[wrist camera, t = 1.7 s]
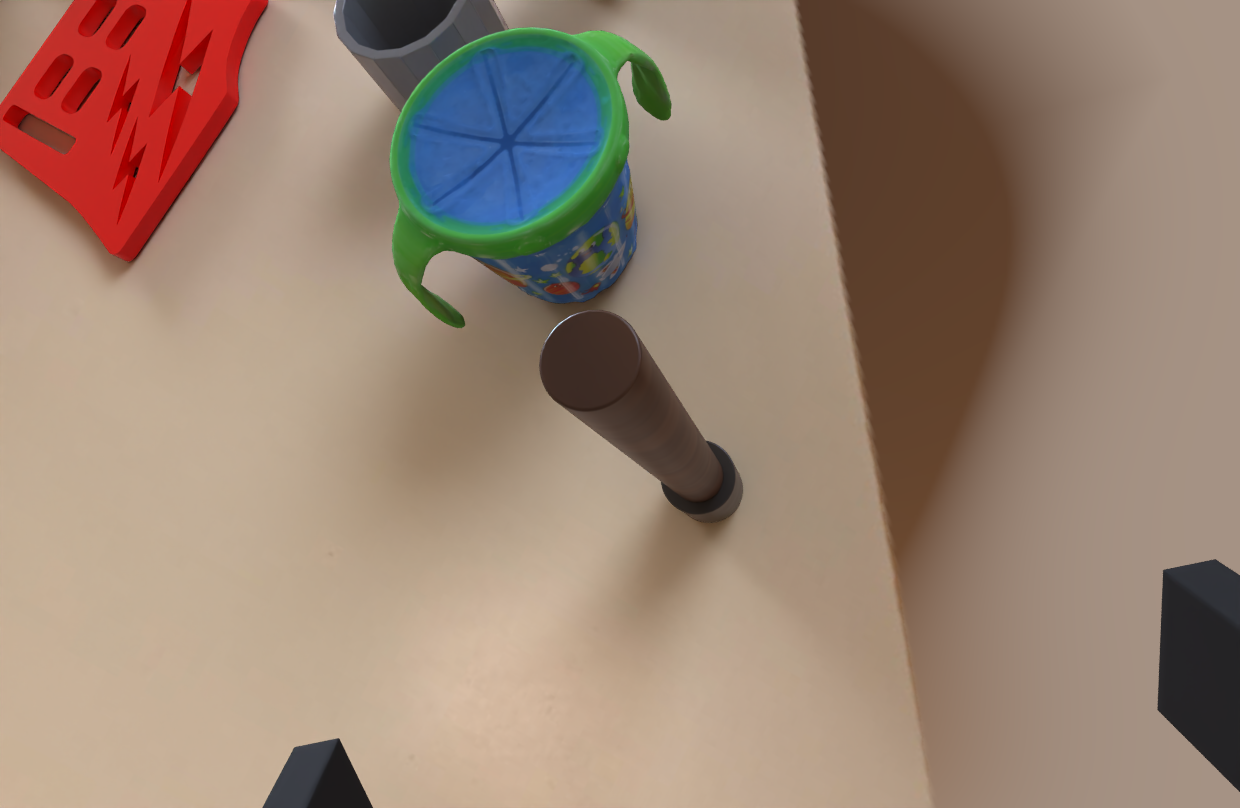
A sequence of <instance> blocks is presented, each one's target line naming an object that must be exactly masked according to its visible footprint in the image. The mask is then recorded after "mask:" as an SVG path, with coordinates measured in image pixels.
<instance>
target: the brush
mask: <svg viewBox="0 0 1240 808" xmlns="http://www.w3.org/2000/svg"><path fill="white" fill-rule="evenodd" d="M539 367H540V376H541V380H542V383H543V385H544V387H545V389H546V391H547V392H548V394H549V395H550V396H551V397H552V398H553V400H555V401H556V402H557V403H558V404H560V405H561V406H562V407H564V408H565V409H566V410H568V411H569V412H570V413H571V414H573V415H574V416H575V417H577V418H578V419H579V420H581V421H582V422H583V423H585V424H586V425H587V426H589V427H590V428H591V429H593V430H594V431H595V432H597V433H598V434H599V435H600V436H602V437H603V438H604V439H606V440H607V441H608V442H610V443H611V444H612V445H614V446H615V447H616V448H618V449H619V450H620V451H622V452H623V453H624V454H625V455H627V456H628V457H629V458H631V459H632V460H633V461H635V462H636V463H637V464H639V465H640V466H641V467H643V468H644V469H645V470H647V471H648V472H649V473H651V474H652V475H653V476H654V477H656V478H657V479H658V480H660V481H661V485H662V489H663V492H664V494H665V496H666V498H667V499H668V500H669V502H670V503H671V504H672V505H673V506H675V507H676V508H677V509H679V510H680V511H682V512H684V513H685V514H687V515H688V516H690V517H691V518H693V519H695V520H697V521H700V522H705V523H713V522H718V521H721V520H724V519H726V518H727V517H729V516H730V515H731V514H732V513H733V512H734V511H735V510H736V509H737V507H738V506H739V504H740V501H741V498H742V494H743V485H742V480H741V477H740V475H739V473H738V471H737V469H736V467H735V465H734V463H733V462H732V460H731V458H730V456H729V455H728V454H727V452H726V451H725V450H724V449H722V448H721V447H720V446H718V445H716V444H715V443H712V442H709V441H705V439H704V438H703V436H702V435H701V433H700V431H699V430H698V428H697V427H696V425H695V424H694V422H693V421H692V419H691V417H690V416H689V414H688V413H687V411H686V410H685V408H684V407H683V405H682V403H681V402H680V400H679V399H678V397H677V396H676V394H675V393H674V391H673V389H672V388H671V386H670V385H669V383H668V382H667V380H666V378H665V377H664V375H663V374H662V372H661V371H660V369H659V368H658V366H657V364H656V363H655V361H654V360H653V358H652V357H651V355H650V354H649V352H648V350H647V349H646V347H645V346H644V344H643V343H642V341H641V339H640V338H639V336H638V335H637V333H636V332H635V330H634V329H633V328H632V326H631V325H630V324H629V323H628V322H627V321H626V320H624V319H623V318H622V317H620V316H618V315H616V314H614V313H611V312H608V311H603V310H588V311H582V312H579V313H576V314H574V315H572V316H570V317H568V318H566V319H564V320H563V321H562V322H561V323H559V324H558V325H557V326H556V327H555V328H554V329H553V330H552V332H551V333H550V334H549V336H548V337H547V339H546V341H545V343H544V345H543V348H542V351H541V355H540V364H539Z"/></svg>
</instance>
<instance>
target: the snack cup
mask: <svg viewBox="0 0 1240 808" xmlns="http://www.w3.org/2000/svg"><path fill="white" fill-rule="evenodd" d="M626 61H630V62H631V69H632V86H633V92H634V95H635V97H636V99H637V102H638V103H639V104H640V105H641V106H642V107H643V108H644V109H645V110H646V111H647V112H649V113H650V114H651V115H652V116H654V117H656V118H657V119H660V120H668V119H669V118H670V116H671V101H670V95H669V93H668V90H667V86H666V84H665V82H664V79H663V77H662V74H661V72H660V71H659V69H658V67H657V66H656V64H655V63H654V61H653V60H652V59H651V58H650V57H649V56H648V55H647V54H645V53H644V52H643V51H642V50H640V49H639V48H637V47H636V46H634V45H633V44H631V43H630V42H629V41H627V40H625V39H624V38H622V37H619V36H617V35H615V34H612V33H608V32H605V31H602V30H601V31H587V32H584V33H581V34H576V35H569V34H567V33H564V32H560V31H556V30H553V29H548V28H534V27H533V28H516V29H509V30H505V31H501V32H497V33H494V34H491V35H488V36H485V37H482V38H480V39H478V40H476V41H473V42H471V43H469V44H467V45H465V46H463V47H462V48H460V49H458V50H456V51H455V52H453V53H452V54H450V55H449V56H448V57H446V58H445V59H444V60H443V61H441V62H440V63H439V64H438V65H436V66H435V67H434V68H433V69H432V70H431V71H430V72H429V73H428V74H427V75H426V77H425V78H423V79H422V81H421V82H420V83H419V84H418V85H417V87H416V88H415V90H414V91H413V92H412V94H411V96H410V97H409V99H408V100H407V102H406V104H405V105H404V107H403V109H402V112H401V114H400V116H399V118H398V121H397V124H396V127H395V130H394V133H393V138H392V142H391V149H390V158H389V159H390V171H391V177H392V182H393V185H394V188H395V191H396V194H397V197H398V199H399V209H398V214H397V217H396V222H395V225H394V231H393V239H392V252H393V258H394V265H395V267H396V270H397V272H398V275H399V277H400V279H401V281H402V282H403V284H404V285H405V286H406V288H407V289H408V290H409V291H410V292H411V293H412V294H413V295H414V296H415V297H416V298H417V299H418V300H419V301H420V302H421V303H422V305H423V306H424V307H425V308H426V309H427V310H428V311H430V312H431V313H432V314H433V315H434V316H435V317H437V318H438V319H440V320H441V321H443V322H444V323H446V324H448V325H450V326H453V327H456V328H462V327H464V326H465V321H464V318H463V316H462V315H461V314H460V313H459V312H458V311H457V310H456V309H454V308H453V307H452V306H451V305H450V304H448V303H447V302H446V301H444V300H443V299H442V298H440V297H439V296H438V295H436V294H434V293H431V292H430V291H428V290H427V289H426V288H424V287H423V286H422V285H421V283H422V278H423V275H424V271H425V267H426V265H427V264H428V262H429V260H430V259H431V258H432V257H433V256H434V255H436V254H438V253H440V252H442V251H455V252H458V253H461V254H465V255H468V256H471V257H473V258H474V259H476V260H477V261H479V262H480V263H481V264H483V265H484V266H486V267H487V268H489V269H490V270H492V271H493V272H495V273H496V274H498V275H499V276H501V277H502V278H504V279H505V280H507V281H508V282H510V283H512V284H514V285H516V286H517V287H519V288H520V289H521V290H522V291H524V292H526V293H527V294H529V295H531V296H535V297H537V298H539V299H542V300H545V301H549V302H553V303H568V302H575V301H576V302H585V301H587V300H589V299H592V298H594V297H595V296H596V295H597V294H598V293H599V292H601V291H602V290H604V289H606V288H608V287H610V286H611V285H612V284H613V283H614V282H615V281H616V280H617V278H618V277H619V275H620V274H621V273H622V272H623V270H624V269H625V267H626V264H627V263H628V261H629V260H630V259H631V257H632V255H633V253H634V251H635V250H636V235H637V226H638V224H637V215H636V209H635V202H634V195H633V188H632V182H631V175H630V169H629V166H628V163H627V156H628V153H629V121H628V114H627V109H626V105H625V101H624V97H623V94H622V92H621V89H620V86H619V84H618V81H617V75H618V72H619V71H620V69H621V67H622V66H623V65H624V64H625V62H626Z"/></svg>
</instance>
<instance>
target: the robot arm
mask: <svg viewBox="0 0 1240 808" xmlns="http://www.w3.org/2000/svg"><path fill="white" fill-rule="evenodd" d="M1161 616H1162V617H1161V638H1160V663H1159V688H1158V711H1159V712H1160V713H1161V714H1162V715H1163V716H1164V717H1165V718H1166V719H1167V720H1168V721H1169V722H1170V723H1171V724H1172V725H1173V726H1174V727H1175V728H1176V729H1177V730H1178V731H1179V732H1180V733H1181V734H1182V735H1183V736H1185V738H1186V739H1187V740H1188V741H1189V742H1190V743H1191V744H1192V745H1193V746H1194V747H1195V748H1196V749H1197V750H1198V751H1199V752H1200V753H1201V754H1202V755H1203V756H1204V757H1205V758H1206V759H1207V760H1208V761H1210V762H1211V764H1212V765H1214V767H1215V768H1216V769H1217V770H1219V772H1220V773H1221V774H1222V775H1223V776H1224V777H1225V778H1226V779H1227V780H1229V782H1230V783H1231V784H1232V785H1233V786H1234V787H1235V788H1236V789H1237V790H1239V792H1240V575H1238V574H1237V573H1235V572H1234V571H1232V570H1231V569H1229V568H1228V567H1226V566H1225V565H1223V564H1222V563H1220V562H1219V561H1217V560H1216V559H1215V560H1210V561H1205V562H1200V563H1195V564H1190V565H1185V566H1180V567H1175V568H1171V569H1166V570H1163V589H1162V614H1161ZM263 808H373V807H372V805H371V803H370V801H369V799H368V797H367V795H366V793H365V791H364V788H363V786H362V784H361V782H360V780H359V778H358V776H357V774H356V772H355V770H354V768H353V766H352V764H351V762H350V760H349V758H348V756H347V754H346V752H345V750H344V748H343V746H342V743H341V741H340V739H339V738H338V739H333V740H328V741H323V742H318V743H313V744H308V745H303V746H299V747H294V749H293V751H292V753H291V755H290V757H289V759H288V761H287V762H286V764H285V766H284V768H283V770H282V772H281V774H280V776H279V777H278V779H277V781H276V783H275V785H274V787H273V789H272V791H271V793H270V794H269V796H268V798H267V800H266V802H265V804H264V806H263Z"/></svg>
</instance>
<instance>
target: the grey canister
mask: <svg viewBox="0 0 1240 808" xmlns="http://www.w3.org/2000/svg"><path fill="white" fill-rule="evenodd" d="M334 21H335V26H336V32H337V36H338V38H339V39H340V40H341V42H342V43H343V44H344V45H345V46H346V48H347V49H348V50H349V51H350V52H351V53H352V55H353V56H354V57H355V58H356V59H357V61H358V62H359V63H360V64H361V65H362V67H363V68H364V69H365V70H366V71H367V73H368V74H369V75H370V76H371V77H372V78H373V80H374V81H375V82H376V83H377V84H378V86H379V87H380V88H381V89H382V90H383V92H384V93H385V94H386V95H387V96H388V98H389V99H390V100H391V101H392V102H393V103H394V105H395V106H396V107H397V108H398V109H399V111H400V112H402V109H403V107H404V105H405V104H406V102H407V100H408V99H409V97H410V96H411V94H412V92H413V91H414V90H415V88H416V87H417V85H418V84H419V83H420V82H421V81H422V79H423V78H425V77H426V75H427V74H428V73H429V72H430V71H431V70H432V69H433V68H434V67H435V66H436V65H438V64H439V63H440V62H441V61H443V60H444V59H445V58H446V57H448V56H449V55H450V54H452V53H453V52H455V51H456V50H458V49H460V48H462V47H463V46H465V45H467V44H469V43H471V42H473V41H476V40H478V39H480V38H482V37H485V36H488V35H491V34H494V33H497V32H501V31H505V30H509V28H508V26H507V24H506V22H505V20H504V18H503V17H502V15H501V13H500V11H499V9H498V7H497V5H496V3H495V1H494V0H337V1H336V5H335V9H334Z"/></svg>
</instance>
